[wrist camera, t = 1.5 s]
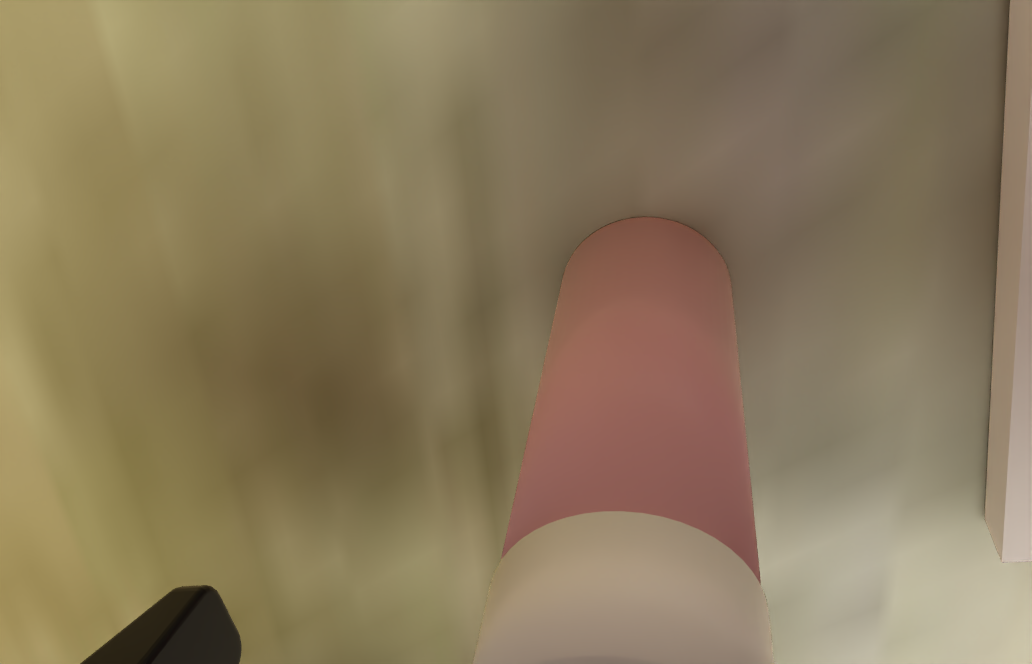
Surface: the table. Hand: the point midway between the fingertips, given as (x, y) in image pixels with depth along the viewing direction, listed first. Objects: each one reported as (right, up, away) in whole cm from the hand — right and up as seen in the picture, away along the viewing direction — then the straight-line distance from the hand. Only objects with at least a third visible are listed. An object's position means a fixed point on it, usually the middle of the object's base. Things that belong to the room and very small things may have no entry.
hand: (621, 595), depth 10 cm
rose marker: (+1, +3, +5) cm, 6 cm away
